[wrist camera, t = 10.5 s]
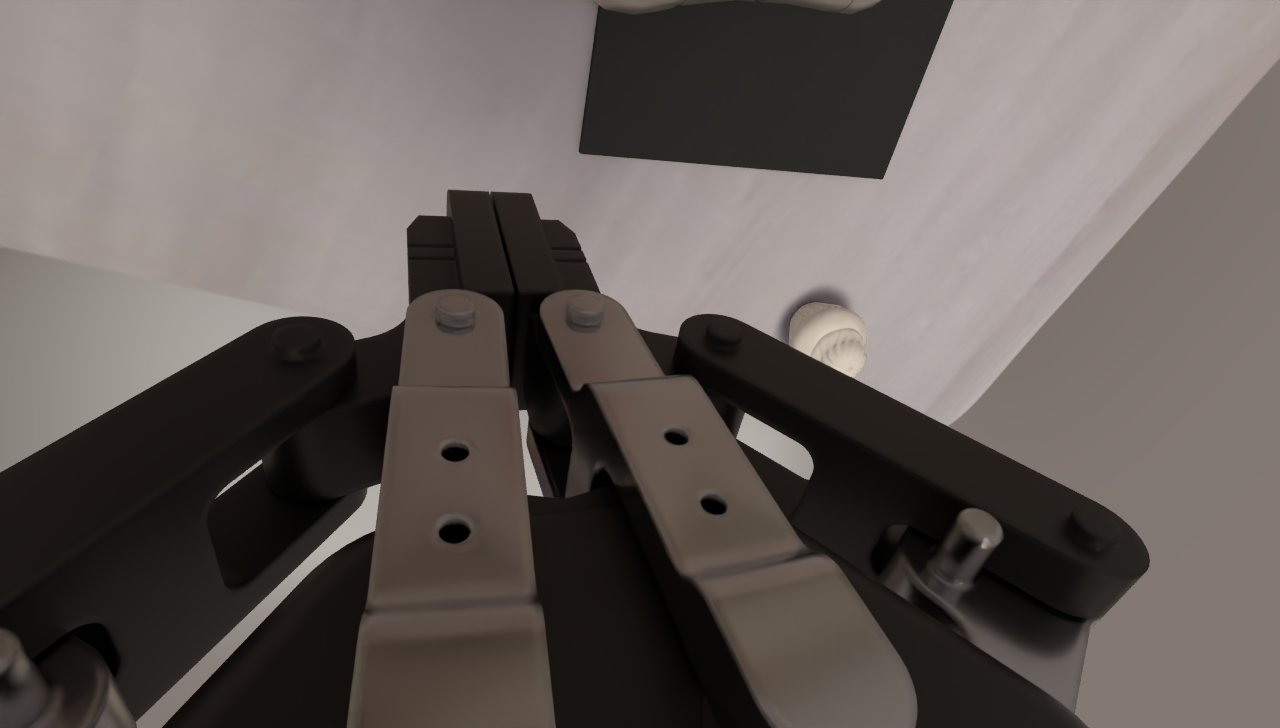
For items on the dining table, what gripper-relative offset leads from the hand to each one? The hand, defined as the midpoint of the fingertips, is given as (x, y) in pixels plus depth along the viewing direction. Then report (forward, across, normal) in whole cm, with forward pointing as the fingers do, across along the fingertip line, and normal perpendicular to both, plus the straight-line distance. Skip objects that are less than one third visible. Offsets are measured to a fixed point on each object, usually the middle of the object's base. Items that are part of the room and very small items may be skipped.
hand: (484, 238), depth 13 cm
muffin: (+29, -29, +21) cm, 46 cm away
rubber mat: (+29, -20, +2) cm, 35 cm away
